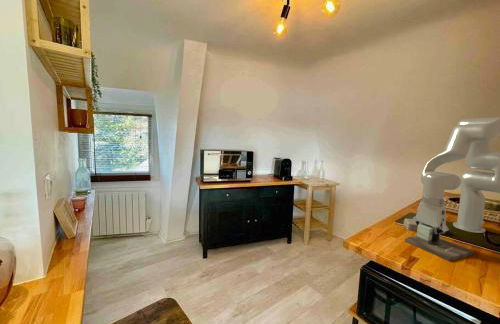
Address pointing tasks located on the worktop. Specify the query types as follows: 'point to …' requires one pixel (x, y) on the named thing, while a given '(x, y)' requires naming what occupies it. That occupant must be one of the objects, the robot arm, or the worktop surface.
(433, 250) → the board
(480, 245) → the worktop surface
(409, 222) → the brick
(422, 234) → the block
